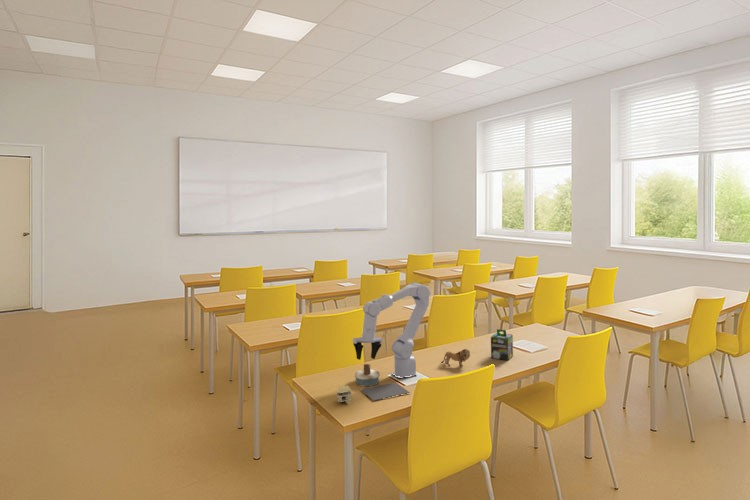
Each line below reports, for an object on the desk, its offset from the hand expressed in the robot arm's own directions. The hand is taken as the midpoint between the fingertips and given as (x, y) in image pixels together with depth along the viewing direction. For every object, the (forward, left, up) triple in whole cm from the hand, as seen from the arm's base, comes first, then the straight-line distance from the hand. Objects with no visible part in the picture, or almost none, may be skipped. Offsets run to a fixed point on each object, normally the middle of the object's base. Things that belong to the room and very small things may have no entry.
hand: (365, 358), depth 205 cm
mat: (-3, +14, -11) cm, 18 cm away
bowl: (-1, 0, -11) cm, 11 cm away
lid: (-1, 0, -8) cm, 8 cm away
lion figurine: (-48, +1, -11) cm, 50 cm away
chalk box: (-77, +1, -11) cm, 77 cm away
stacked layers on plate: (+17, +15, -12) cm, 25 cm away
